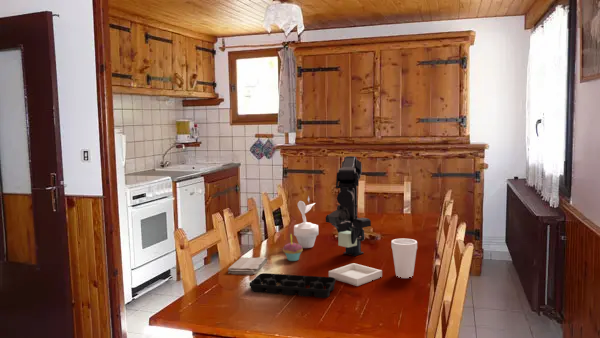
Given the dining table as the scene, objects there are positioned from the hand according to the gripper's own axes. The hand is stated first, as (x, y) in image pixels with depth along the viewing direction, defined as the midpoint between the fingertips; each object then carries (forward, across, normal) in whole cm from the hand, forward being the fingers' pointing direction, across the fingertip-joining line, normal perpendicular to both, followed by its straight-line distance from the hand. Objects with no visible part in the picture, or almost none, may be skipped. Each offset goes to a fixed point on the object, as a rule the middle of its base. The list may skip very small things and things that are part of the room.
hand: (347, 242), depth 191 cm
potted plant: (+11, -41, +16) cm, 45 cm away
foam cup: (+12, +17, +12) cm, 24 cm away
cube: (+1, 0, 0) cm, 1 cm away
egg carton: (+13, -1, -27) cm, 30 cm away
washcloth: (+12, -34, -23) cm, 43 cm away
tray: (+12, +5, -2) cm, 13 cm away
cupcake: (+12, -30, -2) cm, 32 cm away
